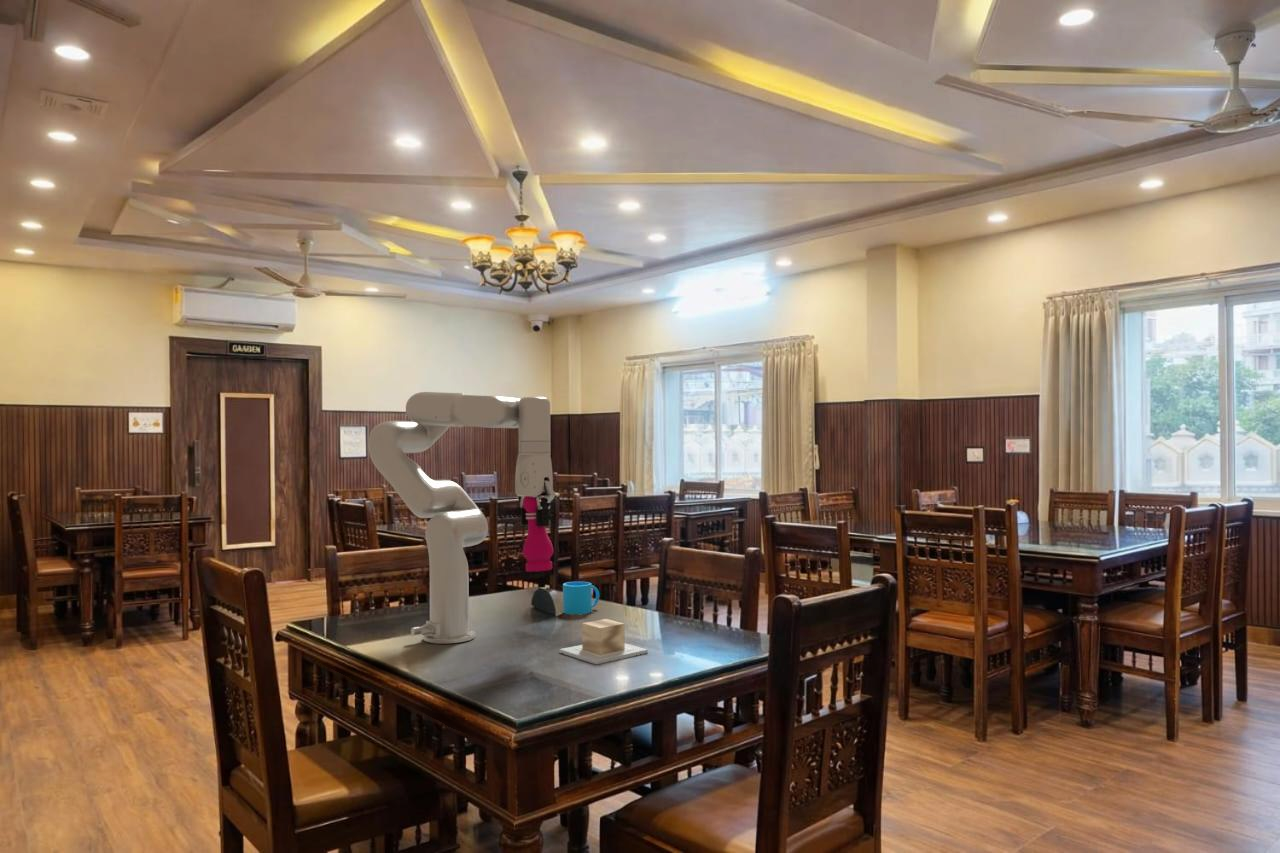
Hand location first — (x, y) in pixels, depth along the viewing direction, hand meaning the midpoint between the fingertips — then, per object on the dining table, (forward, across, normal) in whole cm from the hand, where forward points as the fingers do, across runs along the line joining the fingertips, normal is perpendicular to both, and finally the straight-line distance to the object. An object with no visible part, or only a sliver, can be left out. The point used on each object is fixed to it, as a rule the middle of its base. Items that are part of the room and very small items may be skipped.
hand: (534, 524), depth 201 cm
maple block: (+29, +14, +10) cm, 33 cm away
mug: (+30, -28, +35) cm, 54 cm away
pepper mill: (+11, +1, 0) cm, 11 cm away
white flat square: (+29, +14, +10) cm, 34 cm away
